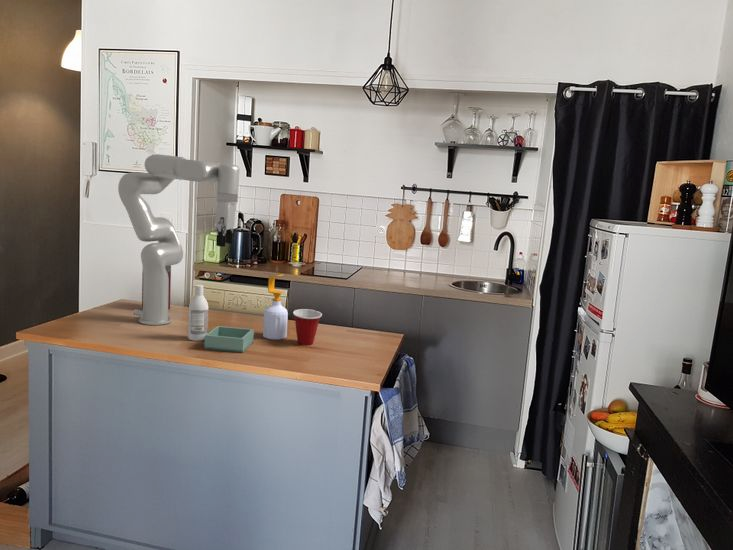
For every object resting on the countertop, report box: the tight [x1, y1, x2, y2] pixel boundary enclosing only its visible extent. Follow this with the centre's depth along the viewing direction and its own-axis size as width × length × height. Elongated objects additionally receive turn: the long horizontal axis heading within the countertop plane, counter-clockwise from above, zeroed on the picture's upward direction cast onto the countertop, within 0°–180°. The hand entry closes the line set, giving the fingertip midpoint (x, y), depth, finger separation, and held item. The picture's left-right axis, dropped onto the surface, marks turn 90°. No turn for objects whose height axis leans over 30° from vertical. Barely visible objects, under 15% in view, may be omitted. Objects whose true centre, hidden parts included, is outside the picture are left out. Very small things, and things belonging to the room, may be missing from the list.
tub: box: [203, 325, 255, 354], centre depth 208 cm, size 14×14×5 cm
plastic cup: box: [292, 308, 323, 346], centre depth 217 cm, size 11×11×12 cm
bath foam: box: [187, 284, 209, 342], centre depth 212 cm, size 7×7×20 cm
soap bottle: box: [262, 273, 289, 341], centre depth 222 cm, size 9×9×25 cm
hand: (224, 244), depth 215 cm, fingers open, 9 cm apart
